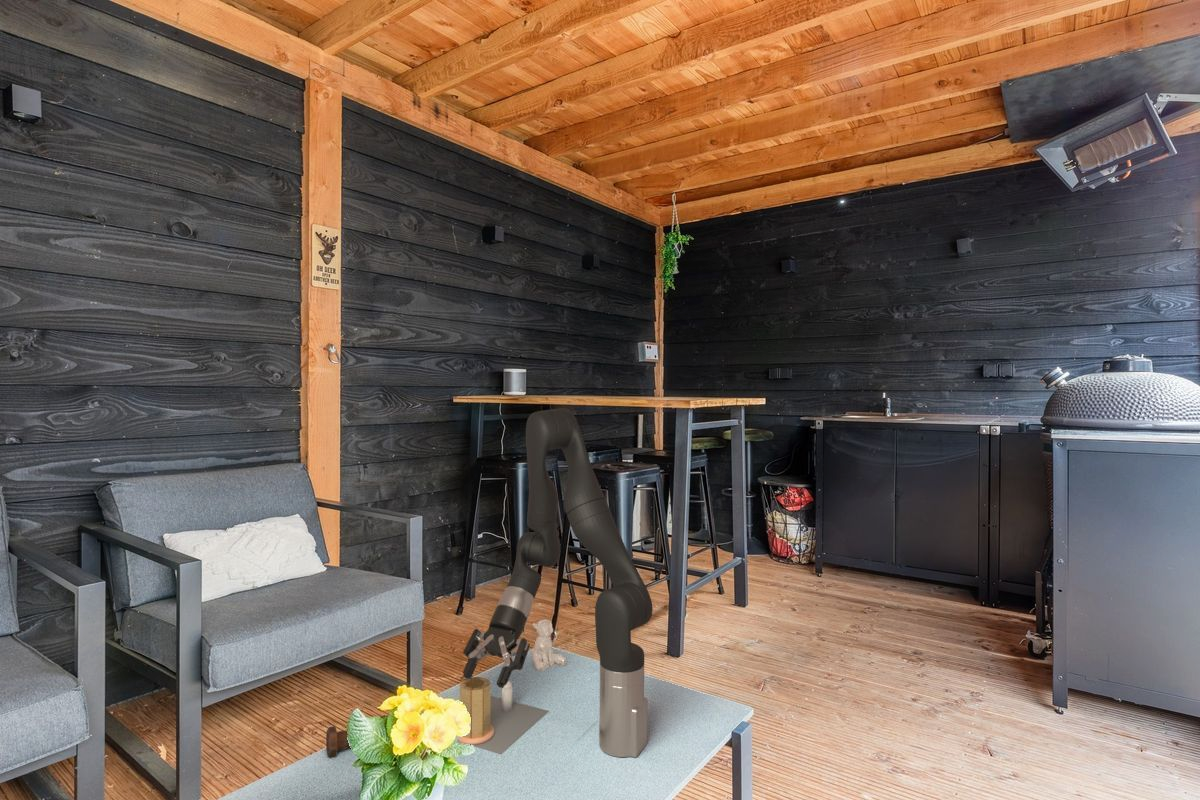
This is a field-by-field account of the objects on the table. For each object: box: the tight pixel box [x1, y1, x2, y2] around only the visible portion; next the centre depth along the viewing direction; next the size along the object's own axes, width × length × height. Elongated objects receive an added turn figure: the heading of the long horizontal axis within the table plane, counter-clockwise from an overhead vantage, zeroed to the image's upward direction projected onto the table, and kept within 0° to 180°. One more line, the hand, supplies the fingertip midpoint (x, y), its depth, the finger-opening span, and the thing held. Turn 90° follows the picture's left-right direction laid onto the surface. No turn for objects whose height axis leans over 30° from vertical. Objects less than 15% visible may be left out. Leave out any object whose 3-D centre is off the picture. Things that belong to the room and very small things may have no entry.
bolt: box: [325, 725, 350, 759], centre depth 134 cm, size 6×5×15 cm
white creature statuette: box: [530, 618, 568, 673], centre depth 172 cm, size 10×9×12 cm
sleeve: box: [459, 676, 491, 739], centre depth 135 cm, size 6×6×10 cm
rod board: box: [457, 680, 550, 755], centre depth 140 cm, size 18×20×8 cm
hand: (482, 682), depth 137 cm, fingers open, 8 cm apart
